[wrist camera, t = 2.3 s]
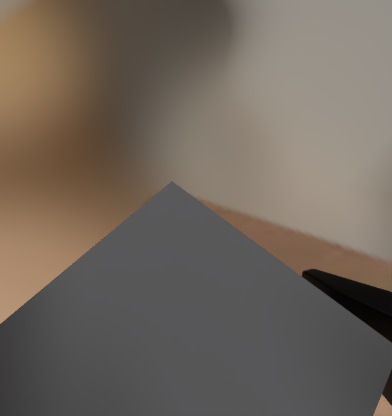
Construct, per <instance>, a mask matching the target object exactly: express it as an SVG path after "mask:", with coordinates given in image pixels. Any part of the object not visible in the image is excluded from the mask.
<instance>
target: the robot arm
mask: <svg viewBox="0 0 392 416" xmlns="http://www.w3.org/2000/svg"><path fill="white" fill-rule="evenodd" d="M302 277H303V278H304V279H306V280H307V281H308V282H310V283H311V284H312V285H314V286H315V287H317V288H318V289H319V290H321V291H322V292H323V293H325V294H326V295H327V296H329V297H330V298H332V299H333V300H334V301H336V302H337V303H338V304H340V305H341V306H342V307H344V308H345V309H347V310H348V311H349V312H351V313H352V314H353V315H355V316H356V317H357V318H359V319H360V320H361V321H363V322H364V323H366V324H367V325H368V326H370V327H371V328H372V329H374V330H375V331H376V332H378V333H379V334H381V335H382V336H383V337H385V338H386V339H387V340H389V341H390V342H391V343H392V292H390V291H387V290H384V289H380V288H377V287H374V286H370V285H367V284H364V283H360V282H357V281H354V280H350V279H347V278H343V277H340V276H337V275H333V274H330V273H327V272H323V271H320V270H317V269H309V270H305V271H303V272H302ZM382 395H383V396H384V397H385V398H386V399H387V401H388V402H389V403H390V404H391V405H392V370H391V372H390V375H389V377H388V380H387V382H386V385H385V387H384V390H383V392H382Z"/></svg>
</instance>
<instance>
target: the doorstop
mask: <svg viewBox="0 0 392 416" xmlns="http://www.w3.org/2000/svg"><path fill="white" fill-rule="evenodd" d="M391 370H392V343H391V342H390V341H389V340H387V339H386V338H385V337H383V336H382V335H381V334H379V333H378V332H376V331H375V330H374V329H372V328H371V327H370V326H368V325H367V324H366V323H364V322H363V321H361V320H360V319H359V318H357V317H356V316H355V315H353V314H352V313H351V312H349V311H348V310H347V309H345V308H344V307H342V306H341V305H340V304H338V303H337V302H336V301H334V300H333V299H332V298H330V297H329V296H327V295H326V294H325V293H323V292H322V291H321V290H319V289H318V288H317V287H315V286H314V285H312V284H311V283H310V282H308V281H307V280H306V279H304V278H303V277H302V276H300V275H299V274H298V273H296V272H295V271H293V270H292V269H291V268H289V267H288V266H287V265H285V264H284V263H283V262H281V261H280V260H278V259H277V258H276V257H274V256H273V255H272V254H270V253H269V252H268V251H266V250H265V249H263V248H262V247H261V246H259V245H258V244H257V243H255V242H254V241H253V240H251V239H250V238H249V237H247V236H246V235H244V234H243V233H242V232H240V231H239V230H238V229H236V228H235V227H234V226H232V225H231V224H229V223H228V222H227V221H225V220H224V219H223V218H221V217H220V216H219V215H217V214H216V213H214V212H213V211H212V210H210V209H209V208H208V207H206V206H205V205H204V204H202V203H201V202H200V201H198V200H197V199H195V198H194V197H193V196H191V195H190V194H189V193H187V192H186V191H185V190H183V189H182V188H180V187H179V186H178V185H176V184H175V183H174V182H170V183H169V184H168V185H167V186H166V187H165V188H163V189H162V190H161V191H160V192H158V193H157V194H156V195H155V196H154V197H152V198H151V199H150V200H149V201H148V202H146V203H145V204H144V205H143V206H142V207H140V208H139V209H138V210H137V211H136V212H134V213H133V214H132V215H131V216H130V217H128V218H127V219H126V220H125V221H124V222H123V223H121V224H120V225H119V226H118V227H117V228H115V229H114V230H113V231H112V232H111V233H109V234H108V235H107V236H106V237H104V238H103V239H102V240H101V241H100V242H98V243H97V244H96V245H95V246H94V247H92V248H91V249H90V250H89V251H88V252H86V253H85V254H84V255H83V256H82V257H80V258H79V259H78V260H77V261H76V262H74V263H73V264H72V265H71V266H70V267H68V268H67V269H66V270H65V271H64V272H62V273H61V274H60V275H59V276H58V277H56V278H55V279H54V280H53V281H52V282H50V283H49V284H48V285H47V286H46V287H44V288H43V289H42V290H41V291H40V292H38V293H37V294H36V295H35V296H34V297H32V298H31V299H30V300H29V301H28V302H26V303H25V304H24V305H23V306H22V307H20V308H19V309H18V310H17V311H16V312H14V313H13V314H12V315H11V316H10V317H8V318H7V319H6V320H5V321H4V322H2V323H1V324H0V416H373V414H374V412H375V409H376V407H377V404H378V402H379V400H380V397H381V395H382V392H383V390H384V387H385V385H386V382H387V380H388V377H389V375H390V372H391Z"/></svg>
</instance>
